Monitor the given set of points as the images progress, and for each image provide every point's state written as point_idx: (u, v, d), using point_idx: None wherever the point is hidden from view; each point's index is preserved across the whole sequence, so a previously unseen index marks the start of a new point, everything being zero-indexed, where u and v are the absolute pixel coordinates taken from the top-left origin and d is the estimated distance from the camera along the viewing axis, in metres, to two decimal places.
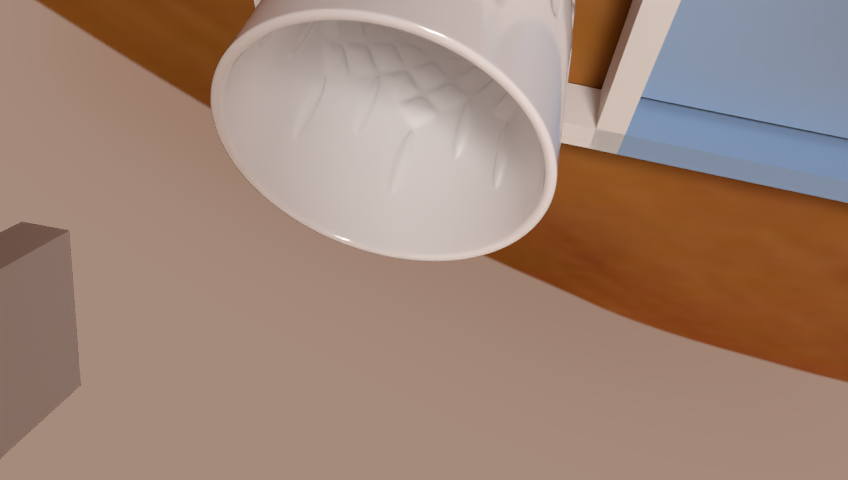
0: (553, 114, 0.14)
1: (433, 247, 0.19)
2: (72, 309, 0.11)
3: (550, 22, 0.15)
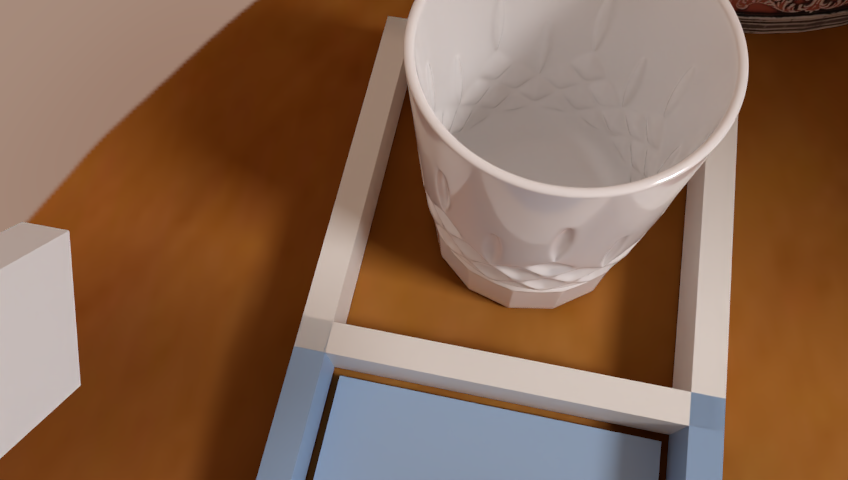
0: (628, 204, 0.15)
1: (417, 78, 0.16)
2: (72, 309, 0.11)
3: (631, 229, 0.18)
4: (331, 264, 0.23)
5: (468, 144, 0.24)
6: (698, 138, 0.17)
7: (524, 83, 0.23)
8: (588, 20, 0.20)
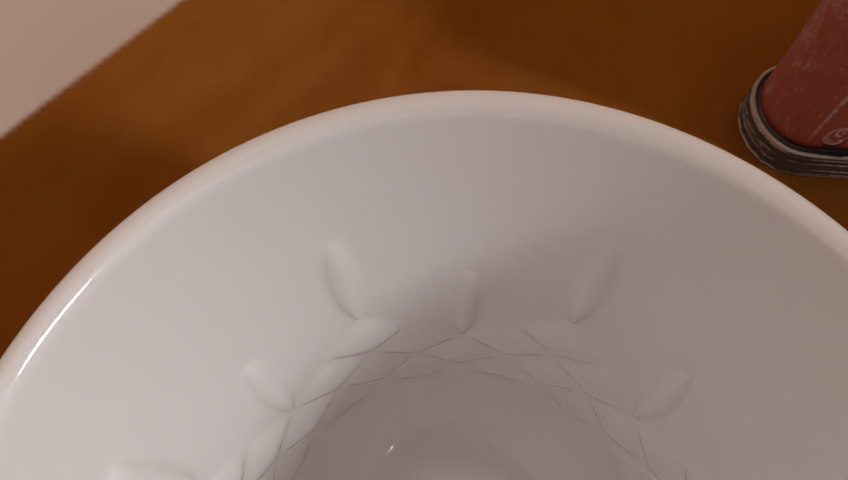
0: None
1: None
2: None
3: None
4: None
5: (334, 443, 0.13)
6: None
7: (433, 346, 0.12)
8: (555, 280, 0.09)
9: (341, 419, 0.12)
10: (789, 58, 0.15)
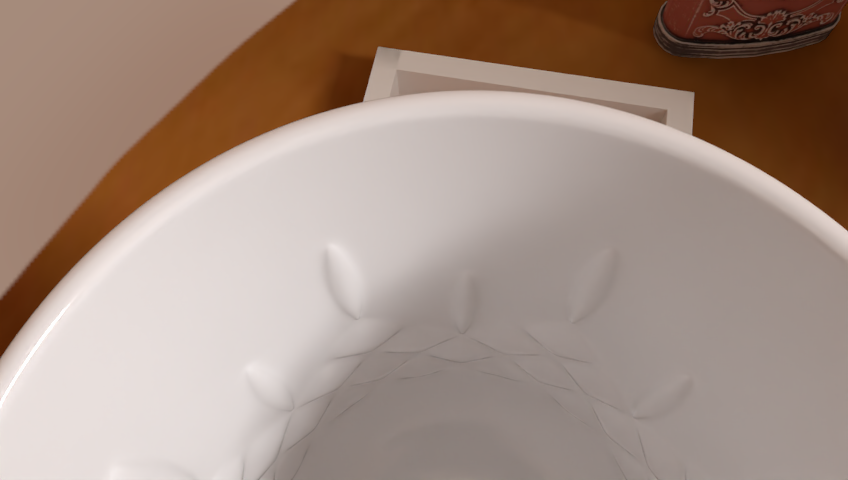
0: None
1: None
2: None
3: None
4: None
5: (334, 443, 0.13)
6: None
7: (433, 346, 0.12)
8: (555, 280, 0.09)
9: (341, 419, 0.12)
10: None
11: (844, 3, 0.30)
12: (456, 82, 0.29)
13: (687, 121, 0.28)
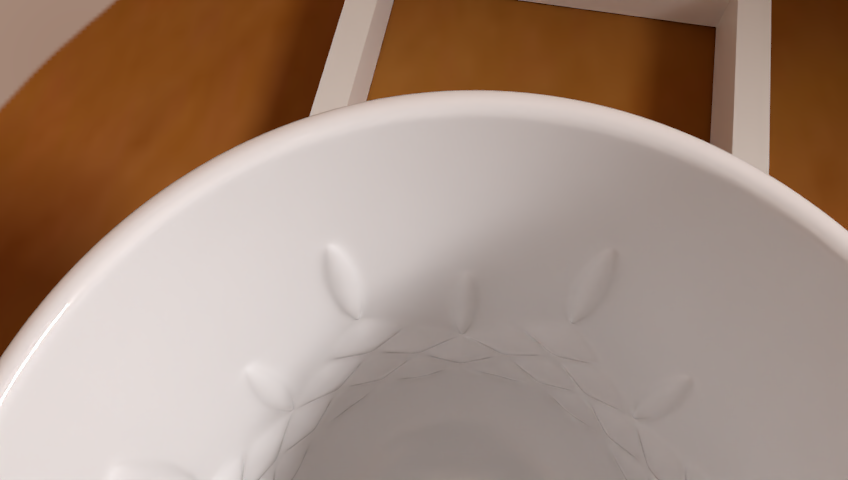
0: None
1: None
2: None
3: None
4: None
5: (334, 443, 0.12)
6: None
7: (433, 346, 0.12)
8: (555, 280, 0.09)
9: (341, 419, 0.12)
10: None
11: None
12: None
13: None
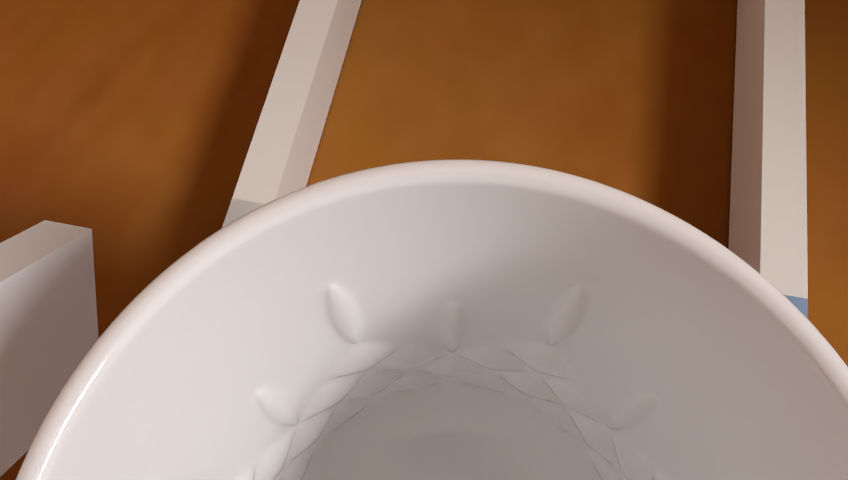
0: None
1: None
2: (94, 306, 0.11)
3: None
4: (272, 134, 0.17)
5: (335, 451, 0.14)
6: None
7: (426, 363, 0.13)
8: (533, 310, 0.10)
9: (341, 430, 0.13)
10: None
11: None
12: None
13: None
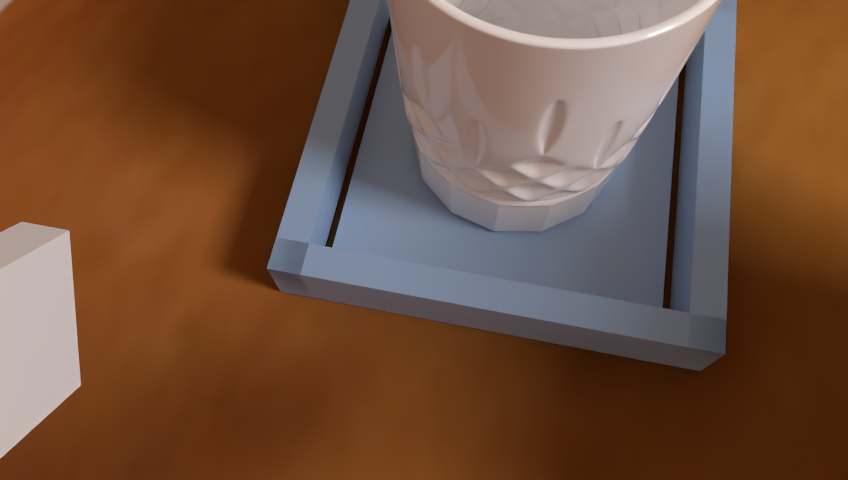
0: (624, 63, 0.14)
1: None
2: (71, 309, 0.11)
3: (626, 110, 0.16)
4: None
5: None
6: None
7: None
8: None
9: None
10: None
11: None
12: None
13: None
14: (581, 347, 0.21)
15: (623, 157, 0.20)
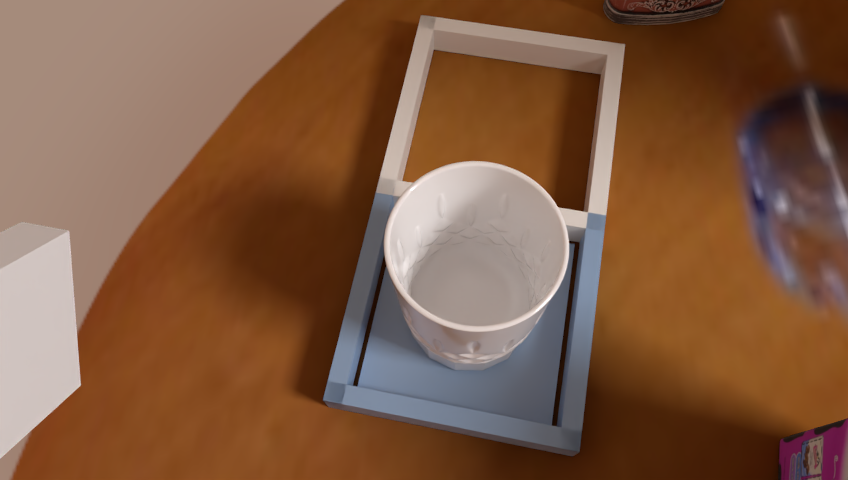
0: (503, 332, 0.29)
1: (391, 260, 0.30)
2: (71, 309, 0.11)
3: (513, 337, 0.31)
4: (394, 151, 0.41)
5: (428, 266, 0.38)
6: (549, 287, 0.31)
7: (461, 231, 0.37)
8: (495, 204, 0.34)
9: (430, 257, 0.38)
10: None
11: None
12: (472, 38, 0.45)
13: (619, 62, 0.43)
14: (504, 442, 0.37)
15: (525, 337, 0.35)
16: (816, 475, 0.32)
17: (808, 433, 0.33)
